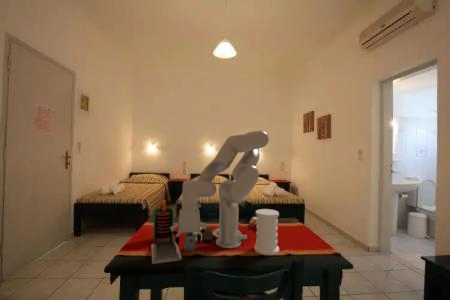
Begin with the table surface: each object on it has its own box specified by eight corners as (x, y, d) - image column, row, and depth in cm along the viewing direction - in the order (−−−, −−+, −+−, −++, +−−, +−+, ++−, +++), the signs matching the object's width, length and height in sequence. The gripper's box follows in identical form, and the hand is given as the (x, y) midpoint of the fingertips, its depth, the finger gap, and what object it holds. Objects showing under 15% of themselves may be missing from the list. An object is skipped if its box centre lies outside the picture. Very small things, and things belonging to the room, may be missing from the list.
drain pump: (193, 247, 113) (194, 230, 113) (196, 252, 107) (196, 235, 107) (183, 248, 111) (183, 231, 111) (185, 254, 105) (185, 236, 105)
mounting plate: (176, 243, 117) (176, 236, 117) (181, 260, 99) (181, 251, 99) (151, 246, 113) (151, 239, 113) (152, 264, 96) (152, 255, 96)
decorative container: (279, 256, 104) (280, 216, 104) (253, 253, 107) (254, 214, 106) (278, 245, 116) (279, 209, 116) (255, 243, 118) (255, 208, 118)
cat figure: (275, 239, 128) (262, 221, 152) (276, 224, 127) (262, 208, 151) (257, 240, 126) (247, 222, 151) (258, 224, 125) (247, 208, 150)
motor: (154, 244, 115) (155, 204, 115) (151, 238, 123) (152, 200, 123) (175, 241, 120) (175, 202, 120) (170, 235, 128) (171, 198, 127)
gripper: (205, 204, 116) (204, 239, 116) (170, 205, 110) (168, 242, 110) (209, 208, 109) (208, 245, 108) (171, 209, 103) (170, 248, 103)
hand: (188, 243), depth 109 cm, fingers open, 9 cm apart
